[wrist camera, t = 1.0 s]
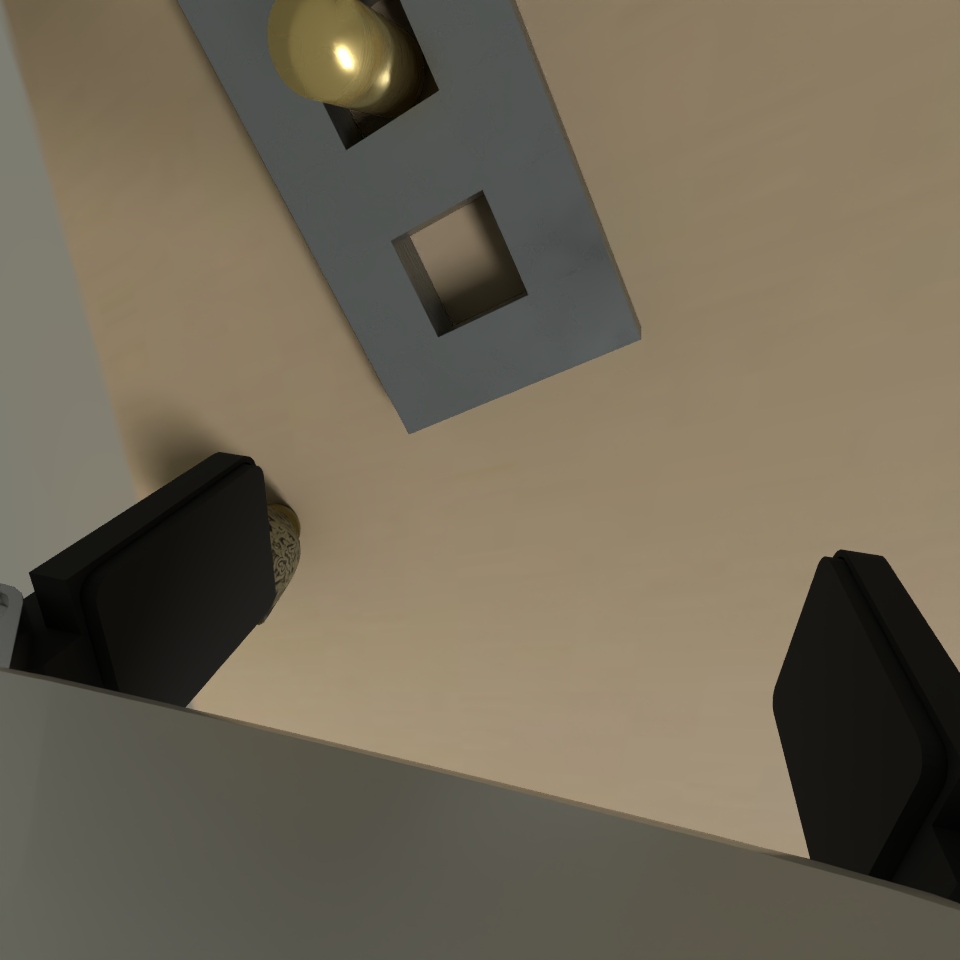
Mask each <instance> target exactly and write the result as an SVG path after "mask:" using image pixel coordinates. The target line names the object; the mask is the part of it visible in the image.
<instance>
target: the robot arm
mask: <svg viewBox="0 0 960 960" xmlns="http://www.w3.org/2000/svg"><path fill="white" fill-rule="evenodd" d="M29 575H30V577H31V581H32V584H33V587H34V591H35V592H33V593H32V594H30V595H29V596H27V597H26V598H24V599H23V596H22V593H21V592H20V591H18V590H17V589H16V588H15V587H12V586H9V585H6V584H0V960H960V672H959V671H958V669H957V668H956V666H955V665H954V663H953V662H952V660H951V659H950V657H949V656H948V654H947V652H946V651H945V649H944V648H943V646H942V645H941V643H940V642H939V640H938V639H937V637H936V636H935V634H934V632H933V631H932V629H931V628H930V626H929V625H928V623H927V622H926V620H925V619H924V617H923V616H922V614H921V612H920V611H919V609H918V608H917V606H916V605H915V603H914V602H913V600H912V599H911V597H910V596H909V594H908V592H907V591H906V589H905V588H904V586H903V585H902V583H901V582H900V580H899V579H898V577H897V576H896V574H895V572H894V571H893V569H892V568H891V566H890V565H889V563H888V562H887V560H886V559H885V558H884V557H883V556H879V555H873V554H866V553H860V552H854V551H847V550H839V551H837V552H836V553H835V555H834V556H833V558H832V557H823V558H822V559H821V560H820V562H819V564H818V567H817V569H816V572H815V575H814V578H813V581H812V584H811V586H810V589H809V592H808V595H807V598H806V601H805V603H804V606H803V609H802V612H801V615H800V618H799V620H798V623H797V626H796V629H795V632H794V635H793V637H792V640H791V643H790V646H789V649H788V652H787V654H786V657H785V660H784V663H783V666H782V669H781V671H780V674H779V677H778V680H777V683H776V686H775V689H774V694H773V712H774V716H775V720H776V724H777V728H778V732H779V736H780V740H781V744H782V748H783V752H784V756H785V760H786V764H787V768H788V772H789V776H790V780H791V784H792V788H793V792H794V796H795V800H796V804H797V808H798V812H799V816H800V820H801V824H802V828H803V832H804V836H805V840H806V844H807V848H808V852H809V856H810V859H807V858H803V857H799V856H795V855H791V854H787V853H783V852H779V851H774V850H770V849H766V848H762V847H758V846H754V845H750V844H746V843H743V842H739V841H735V840H731V839H727V838H723V837H719V836H716V835H712V834H708V833H704V832H700V831H696V830H692V829H688V828H684V827H679V826H675V825H671V824H667V823H663V822H659V821H655V820H651V819H647V818H643V817H639V816H635V815H631V814H627V813H623V812H618V811H614V810H610V809H606V808H602V807H598V806H594V805H590V804H586V803H582V802H578V801H574V800H570V799H566V798H562V797H557V796H553V795H549V794H545V793H541V792H537V791H533V790H529V789H525V788H521V787H517V786H513V785H509V784H505V783H500V782H496V781H492V780H488V779H484V778H480V777H475V776H471V775H467V774H463V773H459V772H455V771H451V770H446V769H442V768H438V767H434V766H430V765H426V764H422V763H417V762H413V761H409V760H405V759H401V758H397V757H392V756H388V755H384V754H380V753H376V752H372V751H367V750H363V749H359V748H355V747H351V746H346V745H342V744H338V743H334V742H330V741H325V740H321V739H317V738H313V737H309V736H304V735H300V734H296V733H292V732H288V731H283V730H279V729H275V728H271V727H266V726H262V725H258V724H253V723H249V722H245V721H241V720H236V719H232V718H228V717H223V716H219V715H215V714H211V713H206V712H202V711H198V710H193V709H189V708H185V707H186V706H187V705H188V704H189V703H190V702H191V700H192V699H193V698H194V697H195V696H196V695H197V693H198V692H199V691H200V690H201V689H202V688H203V686H204V685H205V684H206V683H207V682H208V681H209V680H210V678H211V677H212V676H213V675H214V674H215V673H216V671H217V670H218V669H219V668H220V667H221V666H222V664H223V663H224V662H225V661H226V660H227V659H228V658H229V656H230V655H231V654H232V653H233V652H234V651H235V649H236V648H237V647H238V646H239V645H240V644H241V642H242V641H243V640H244V639H245V638H246V637H247V636H248V634H249V633H250V632H251V631H252V630H253V629H254V627H255V626H256V625H257V624H258V623H259V622H260V620H261V619H262V618H263V617H264V616H265V615H266V614H267V612H268V611H269V610H270V608H271V607H272V605H273V603H274V599H275V595H276V586H275V577H274V567H273V558H272V549H271V539H270V530H269V521H268V511H267V502H266V493H265V483H264V475H263V471H262V469H261V468H260V467H259V466H256V464H255V462H254V460H253V459H252V458H251V457H248V456H241V455H235V454H229V453H222V452H218V453H215V454H213V455H212V456H210V457H209V458H207V459H205V460H204V461H202V462H201V463H199V464H198V465H196V466H194V467H193V468H191V469H190V470H188V471H187V472H185V473H184V474H182V475H180V476H179V477H177V478H176V479H174V480H173V481H171V482H170V483H168V484H166V485H165V486H163V487H162V488H160V489H159V490H157V491H155V492H154V493H152V494H151V495H149V496H148V497H146V498H145V499H143V500H141V501H140V502H138V503H137V504H135V505H134V506H132V507H130V508H129V509H127V510H126V511H125V512H123V513H121V514H120V515H118V516H117V517H115V518H113V519H112V520H110V521H109V522H107V523H106V524H104V525H102V526H101V527H99V528H98V529H96V530H95V531H93V532H91V533H90V534H89V535H87V536H85V537H84V538H82V539H81V540H79V541H77V542H76V543H74V544H73V545H71V546H70V547H68V548H66V549H65V550H63V551H62V552H60V553H59V554H57V555H56V556H54V557H52V558H51V559H49V560H48V561H46V562H45V563H43V564H42V565H40V566H39V567H37V568H35V569H34V570H32V571H31V572H29Z"/></svg>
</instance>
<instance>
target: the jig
mask: <svg viewBox="0 0 960 960" xmlns="http://www.w3.org/2000/svg"><path fill="white" fill-rule="evenodd" d="M177 1H178V3H179V4H180V6H181V8H182V10H183V12H184V14H185V16H186V18H187V19H188V21H189V23H190V25H191V27H192V29H193V31H194V33H195V34H196V36H197V38H198V40H199V42H200V44H201V46H202V48H203V49H204V51H205V53H206V55H207V57H208V59H209V61H210V62H211V64H212V66H213V68H214V70H215V72H216V74H217V76H218V77H219V79H220V81H221V83H222V85H223V87H224V89H225V91H226V92H227V94H228V96H229V98H230V100H231V102H232V104H233V106H234V107H235V109H236V111H237V113H238V115H239V117H240V119H241V121H242V122H243V124H244V126H245V128H246V130H247V132H248V134H249V136H250V137H251V139H252V141H253V143H254V145H255V147H256V149H257V151H258V152H259V154H260V156H261V158H262V160H263V162H264V164H265V166H266V167H267V169H268V171H269V173H270V175H271V177H272V179H273V180H274V182H275V184H276V186H277V188H278V190H279V192H280V194H281V195H282V197H283V199H284V201H285V203H286V205H287V207H288V209H289V210H290V212H291V214H292V216H293V218H294V220H295V222H296V224H297V225H298V227H299V229H300V231H301V233H302V235H303V237H304V239H305V240H306V242H307V244H308V246H309V248H310V250H311V252H312V254H313V255H314V257H315V259H316V261H317V263H318V265H319V267H320V269H321V270H322V272H323V274H324V276H325V278H326V280H327V282H328V284H329V285H330V287H331V289H332V291H333V293H334V295H335V297H336V298H337V300H338V302H339V304H340V306H341V308H342V310H343V312H344V313H345V315H346V317H347V319H348V321H349V323H350V325H351V327H352V328H353V330H354V332H355V334H356V336H357V338H358V340H359V342H360V343H361V345H362V347H363V349H364V351H365V353H366V355H367V357H368V358H369V360H370V362H371V364H372V366H373V368H374V370H375V372H376V373H377V375H378V377H379V379H380V381H381V383H382V385H383V387H384V388H385V390H386V392H387V394H388V396H389V398H390V400H391V401H392V403H393V405H394V407H395V409H396V411H397V413H398V415H399V416H400V418H401V420H402V422H403V424H404V426H405V428H406V430H407V431H408V433H409V434H411V433H414V432H416V431H419V430H421V429H423V428H426V427H428V426H431V425H433V424H436V423H438V422H441V421H443V420H445V419H448V418H450V417H453V416H455V415H458V414H460V413H462V412H465V411H467V410H470V409H472V408H475V407H477V406H480V405H482V404H484V403H487V402H489V401H492V400H494V399H497V398H499V397H502V396H504V395H506V394H509V393H511V392H514V391H516V390H519V389H521V388H523V387H526V386H528V385H531V384H533V383H536V382H538V381H541V380H543V379H545V378H548V377H550V376H553V375H555V374H558V373H560V372H563V371H565V370H567V369H570V368H572V367H575V366H577V365H580V364H582V363H584V362H587V361H589V360H592V359H594V358H597V357H599V356H602V355H604V354H606V353H609V352H611V351H614V350H616V349H619V348H621V347H624V346H626V345H628V344H631V343H633V342H636V341H638V340H641V325H640V323H639V320H638V318H637V315H636V312H635V310H634V307H633V305H632V302H631V299H630V297H629V294H628V292H627V289H626V286H625V284H624V281H623V279H622V276H621V274H620V271H619V268H618V266H617V263H616V261H615V258H614V255H613V253H612V250H611V248H610V245H609V242H608V240H607V237H606V235H605V232H604V229H603V227H602V224H601V222H600V219H599V216H598V214H597V211H596V209H595V206H594V203H593V201H592V198H591V196H590V193H589V191H588V188H587V185H586V183H585V180H584V178H583V175H582V172H581V170H580V167H579V165H578V162H577V159H576V157H575V154H574V152H573V149H572V146H571V144H570V141H569V139H568V136H567V133H566V131H565V128H564V126H563V123H562V120H561V118H560V115H559V113H558V110H557V108H556V105H555V102H554V100H553V97H552V95H551V92H550V89H549V87H548V84H547V82H546V79H545V76H544V74H543V71H542V69H541V66H540V63H539V61H538V58H537V56H536V53H535V50H534V48H533V45H532V43H531V40H530V38H529V35H528V32H527V30H526V27H525V25H524V22H523V19H522V17H521V14H520V12H519V9H518V6H517V4H516V1H515V0H400V1H401V4H402V6H403V8H404V11H405V13H406V15H407V17H408V20H409V22H410V24H411V27H412V29H413V31H414V33H415V36H416V38H417V40H418V43H419V45H420V47H421V50H422V52H423V54H424V56H425V59H426V61H427V63H428V66H429V68H430V70H431V72H432V75H433V77H434V79H435V82H436V84H437V86H438V89H439V91H438V92H436V93H435V94H433V95H432V96H430V97H428V98H427V99H425V100H424V101H422V102H421V103H419V104H418V105H416V106H414V107H413V108H411V109H410V110H408V111H407V112H405V113H404V114H402V115H400V116H399V117H397V118H396V119H394V120H393V121H391V122H390V123H388V124H386V125H385V126H383V127H382V128H380V129H379V130H377V131H376V132H374V133H372V134H371V135H369V136H368V137H366V138H365V139H362V137H361V134H360V132H359V130H358V128H357V126H356V124H355V122H354V120H353V118H352V116H351V114H350V112H349V110H348V108H344V107H340V106H336V105H332V104H328V103H324V102H319V101H315V100H311V99H308V98H305V97H303V96H300V95H299V94H297V93H295V92H294V91H293V90H292V89H290V88H289V87H288V86H287V85H286V84H285V83H284V81H283V80H282V79H281V77H280V76H279V74H278V72H277V71H276V69H275V66H274V64H273V62H272V59H271V56H270V52H269V47H268V37H267V30H268V21H269V15H270V12H271V9H272V6H273V4H274V2H275V0H177ZM358 1H360V2H362V3H363V4H365V5H366V6H368V7H369V8H370V7H371V6H372V5H374V4H375V3H376V2H378V1H379V0H358ZM483 195H485V196H486V199H487V201H488V203H489V205H490V208H491V210H492V212H493V215H494V217H495V219H496V222H497V224H498V226H499V228H500V231H501V233H502V235H503V238H504V240H505V242H506V244H507V247H508V249H509V251H510V254H511V256H512V258H513V260H514V263H515V265H516V267H517V270H518V272H519V274H520V277H521V279H522V281H523V283H524V286H525V288H526V290H527V291H526V292H524V293H522V294H520V295H518V296H515V297H513V298H511V299H509V300H507V301H505V302H503V303H501V304H499V305H496V306H494V307H492V308H490V309H488V310H486V311H484V312H482V313H480V314H477V315H475V316H473V317H471V318H469V319H467V320H465V321H463V322H460V323H458V324H456V325H454V326H453V325H452V323H451V321H450V319H449V317H448V315H447V313H446V311H445V309H444V307H443V305H442V303H441V300H440V298H439V296H438V294H437V292H436V290H435V288H434V286H433V284H432V282H431V280H430V278H429V276H428V274H427V271H426V269H425V267H424V265H423V263H422V261H421V259H420V257H419V255H418V253H417V251H416V249H415V247H414V244H413V242H412V240H411V238H410V236H411V235H413V234H414V233H416V232H418V231H420V230H422V229H423V228H425V227H427V226H429V225H431V224H433V223H434V222H436V221H438V220H440V219H442V218H443V217H445V216H447V215H449V214H451V213H452V212H454V211H456V210H458V209H460V208H461V207H463V206H465V205H467V204H469V203H471V202H472V201H474V200H476V199H478V198H480V197H481V196H483Z"/></svg>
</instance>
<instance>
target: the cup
mask: <svg viewBox="0 0 960 960" xmlns="http://www.w3.org/2000/svg"><path fill="white" fill-rule="evenodd" d="M267 511H268V521H269V530H270V539H271V549H272V558H273V567H274V577H275V586H276V595H275V599H274V603H273V605H272V607H271V608H270V610H269V611H268V612H267V614H266V615H265V616H264V617H263V618H262V619H261V620H260V622H259V623H258V625H260V624H262V623H263V622H264V621H265V620H266V619H267V617H268V616H269V614H270V613H271V611H272V609H273V607H274V606H275V604H276V603H277V601H278V600H279V598H280V597H281V595H282V594H283V592H284V590H285V589H286V587H287V586H288V584H289V582H290V581H291V579H292V577H293V575H294V573H295V571H296V569H297V566H298V563H299V559H300V541H299V536H300V529H301V528H300V522H299V520H298V518H297V516H296V515H295V513H294V512H293V511H292V510H291V509H289V508H288V507H286V506H284V505H282V504H279V503H267Z"/></svg>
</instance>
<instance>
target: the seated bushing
mask: <svg viewBox="0 0 960 960" xmlns="http://www.w3.org/2000/svg"><path fill="white" fill-rule="evenodd" d="M267 37H268V47H269V52H270V56H271V59H272V62H273V64H274V66H275V69H276V71H277V72H278V74H279V76H280V77H281V79H282V80H283V81H284V83H285V84H286V85H287V86H288V87H289V88H290V89H292V90H293V91H294V92H295V93H297V94H299V95H300V96H303V97H305V98H308V99H311V100H315V101H319V102H324V103H328V104H332V105H336V106H340V107H344V108H348V109H352V110H356V111H361V112H365V113H369V114H373V115H377V116H381V117H396V116H399V115H401V114H403V113H405V112H407V111H408V110H409V109H410V108H411V107H412V106H413V105H414V104H415V102H416V101H417V99H418V98H419V96H420V93H421V91H422V88H423V83H424V76H425V69H424V61H423V57H422V53H421V51H420V48H419V46H418V44H417V43H416V41H415V40H414V38H413V37H412V36H411V35H410V34H409V33H408V32H407V31H406V30H404V29H402V28H401V27H399V26H398V25H396V24H395V23H393V22H391V21H390V20H388V19H387V18H385V17H384V16H382V15H380V14H379V13H377V12H376V11H374V10H373V9H371V8H369V7H368V6H366V5H365V4H363V3H362V2H360V1H358V0H275V2H274V4H273V6H272V9H271V12H270V15H269V21H268V30H267Z"/></svg>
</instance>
